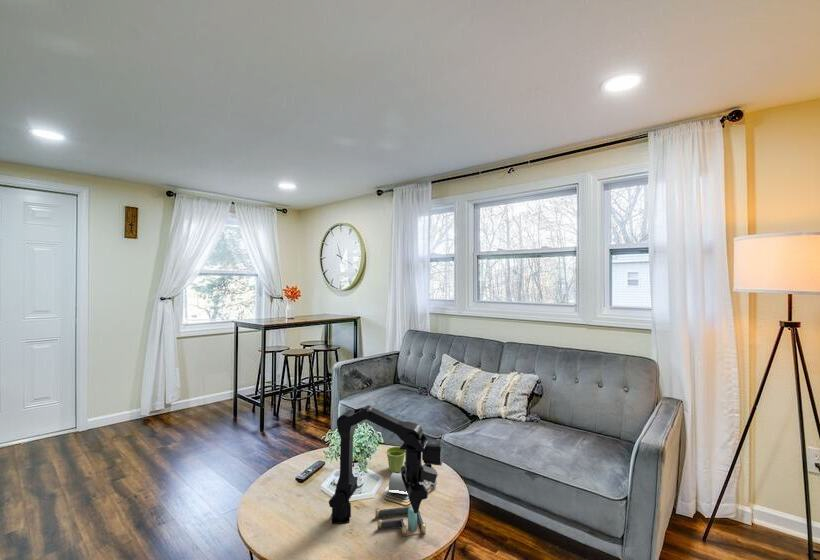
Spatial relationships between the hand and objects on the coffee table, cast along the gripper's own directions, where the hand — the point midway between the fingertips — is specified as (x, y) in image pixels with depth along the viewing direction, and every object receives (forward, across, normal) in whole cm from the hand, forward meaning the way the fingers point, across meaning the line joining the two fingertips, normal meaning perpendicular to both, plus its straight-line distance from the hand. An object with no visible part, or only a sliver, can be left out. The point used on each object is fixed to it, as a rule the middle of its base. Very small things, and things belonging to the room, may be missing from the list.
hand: (413, 505), depth 138 cm
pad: (+9, 0, 0) cm, 9 cm away
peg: (+9, 0, 0) cm, 9 cm away
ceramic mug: (+9, +26, 0) cm, 27 cm away
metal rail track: (+9, +4, +4) cm, 10 cm away
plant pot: (+9, +44, -1) cm, 45 cm away
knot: (+9, +28, -12) cm, 31 cm away
